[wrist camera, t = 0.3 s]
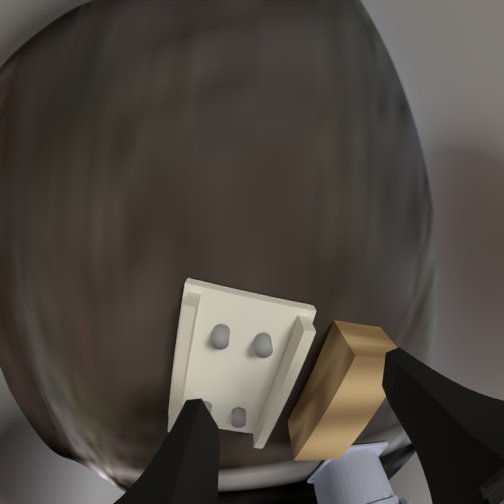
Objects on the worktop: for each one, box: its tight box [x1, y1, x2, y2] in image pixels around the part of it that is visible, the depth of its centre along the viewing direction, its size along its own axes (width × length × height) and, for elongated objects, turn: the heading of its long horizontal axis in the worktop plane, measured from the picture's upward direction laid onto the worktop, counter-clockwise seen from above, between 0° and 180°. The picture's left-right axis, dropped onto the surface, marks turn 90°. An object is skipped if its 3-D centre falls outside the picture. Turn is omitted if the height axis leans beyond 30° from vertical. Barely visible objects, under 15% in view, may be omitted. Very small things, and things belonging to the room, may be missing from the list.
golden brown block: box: [288, 320, 397, 460], centre depth 19 cm, size 12×4×5 cm, turn 166°
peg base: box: [168, 278, 316, 449], centre depth 19 cm, size 14×9×3 cm, turn 166°
